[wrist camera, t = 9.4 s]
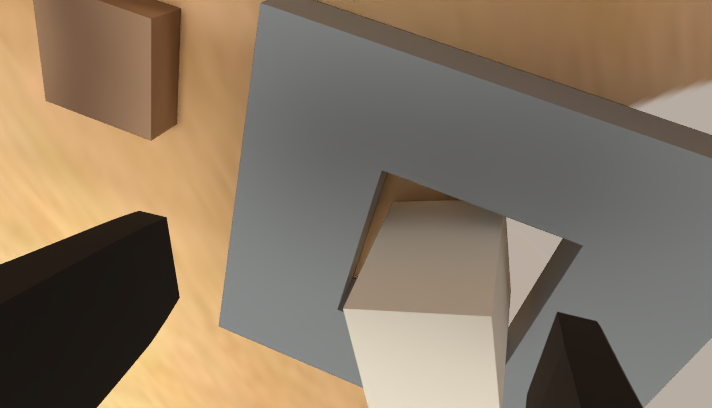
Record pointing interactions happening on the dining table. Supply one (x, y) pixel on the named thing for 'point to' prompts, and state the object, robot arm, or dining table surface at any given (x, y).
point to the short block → (112, 61)
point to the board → (460, 192)
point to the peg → (433, 308)
